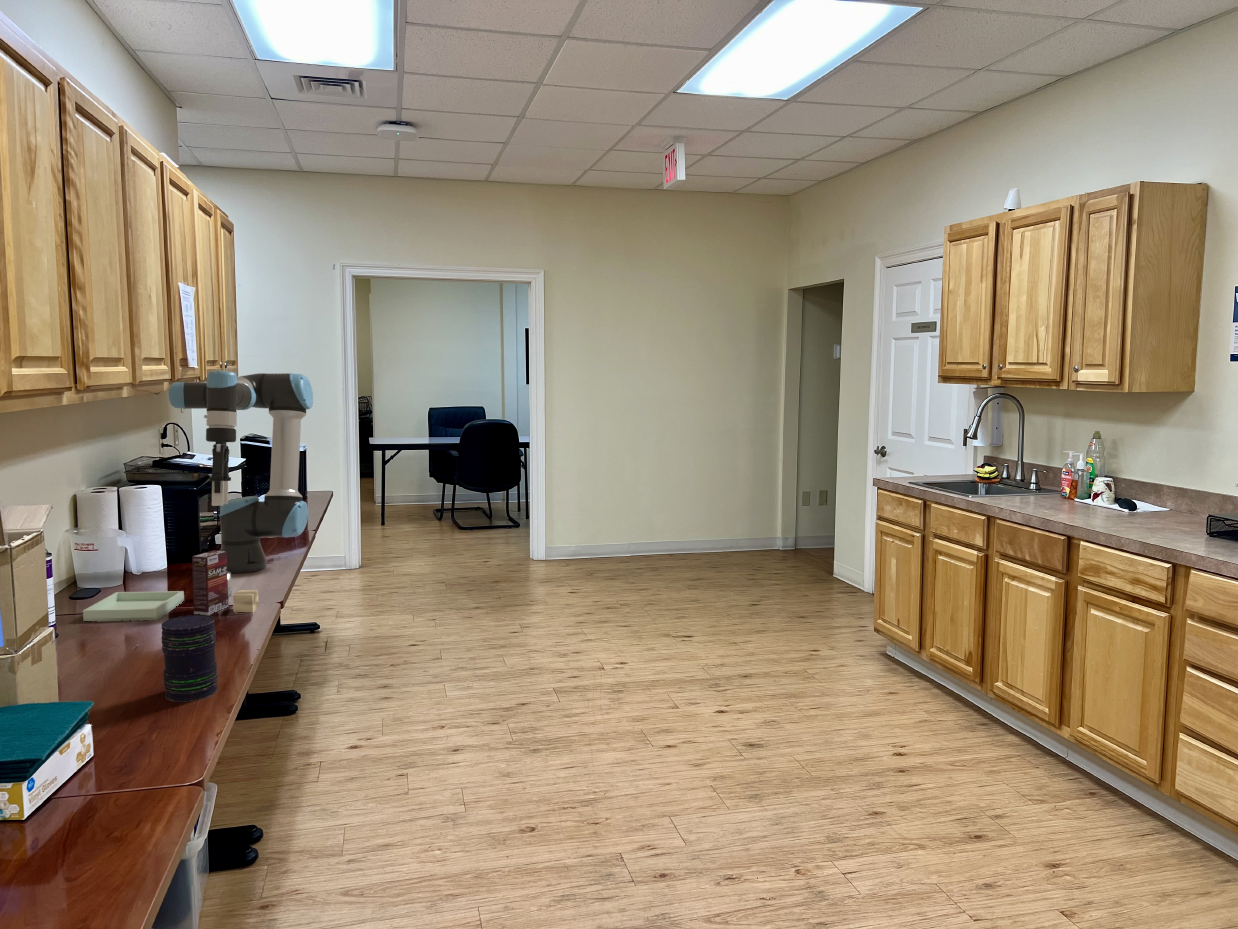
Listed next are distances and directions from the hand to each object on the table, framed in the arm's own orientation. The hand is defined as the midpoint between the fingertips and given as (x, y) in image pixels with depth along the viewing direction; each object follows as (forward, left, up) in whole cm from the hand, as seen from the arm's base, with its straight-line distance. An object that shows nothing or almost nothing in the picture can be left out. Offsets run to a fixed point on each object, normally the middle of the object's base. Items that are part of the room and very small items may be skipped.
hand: (220, 505), depth 233 cm
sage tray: (+4, -22, -28) cm, 36 cm away
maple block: (+5, +7, -28) cm, 30 cm away
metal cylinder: (-9, -4, -28) cm, 30 cm away
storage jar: (+65, +15, -29) cm, 73 cm away
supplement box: (+5, -2, -29) cm, 29 cm away
